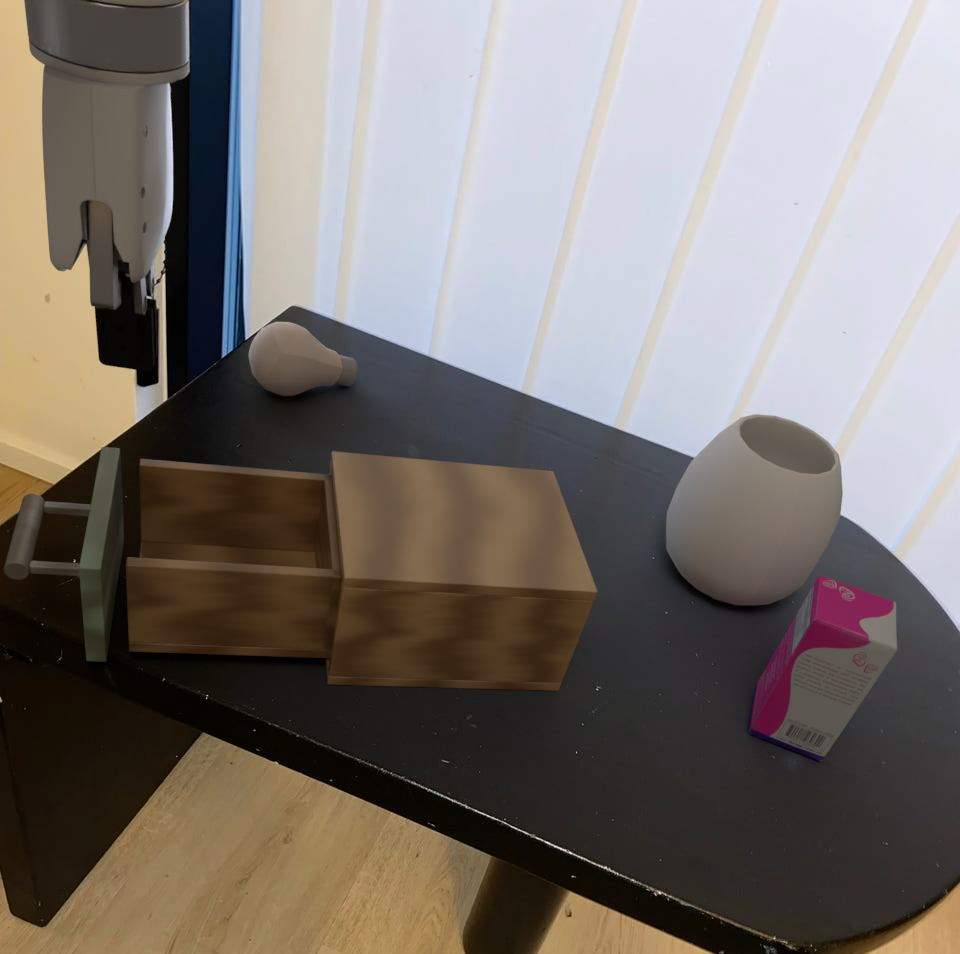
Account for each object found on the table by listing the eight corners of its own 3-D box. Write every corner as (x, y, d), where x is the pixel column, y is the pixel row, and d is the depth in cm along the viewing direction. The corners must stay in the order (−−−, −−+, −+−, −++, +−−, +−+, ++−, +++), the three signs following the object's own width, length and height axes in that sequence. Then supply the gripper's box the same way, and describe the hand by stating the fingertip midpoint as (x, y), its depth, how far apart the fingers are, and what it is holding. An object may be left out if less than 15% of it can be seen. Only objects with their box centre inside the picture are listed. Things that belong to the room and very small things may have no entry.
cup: (773, 538, 91) (840, 413, 82) (812, 636, 82) (893, 506, 73) (639, 516, 89) (692, 385, 80) (663, 614, 79) (726, 478, 70)
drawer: (4, 659, 61) (-11, 562, 55) (35, 533, 69) (24, 439, 64) (332, 669, 66) (346, 582, 61) (323, 551, 74) (334, 466, 69)
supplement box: (826, 711, 75) (900, 601, 68) (821, 764, 71) (900, 653, 63) (754, 682, 76) (820, 570, 68) (745, 733, 71) (814, 620, 64)
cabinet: (327, 684, 66) (344, 577, 60) (317, 555, 75) (331, 450, 69) (558, 691, 70) (598, 592, 64) (522, 568, 80) (553, 470, 73)
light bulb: (359, 323, 94) (256, 298, 86) (384, 370, 91) (279, 348, 84) (329, 375, 98) (228, 355, 90) (352, 422, 95) (249, 405, 88)
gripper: (68, -24, 53) (94, 297, 65) (-21, 53, 42) (31, 418, 55) (211, 6, 54) (209, 315, 67) (160, 88, 43) (170, 437, 56)
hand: (129, 361), depth 61 cm, fingers closed
